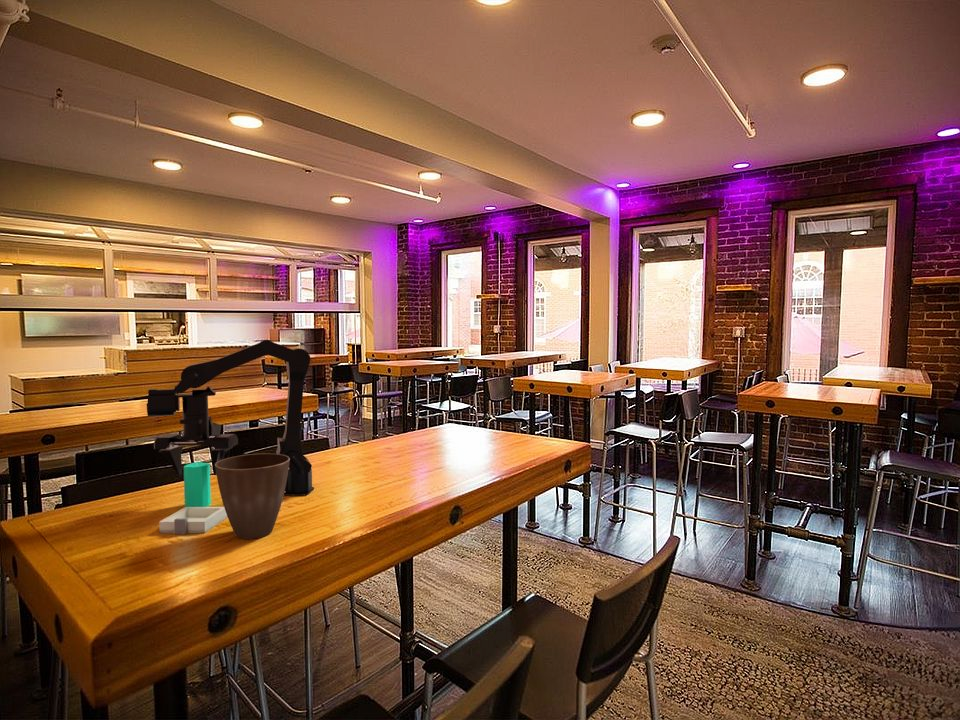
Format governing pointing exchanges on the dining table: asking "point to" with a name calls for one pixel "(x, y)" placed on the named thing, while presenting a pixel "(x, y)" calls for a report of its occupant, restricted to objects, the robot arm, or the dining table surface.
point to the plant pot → (252, 491)
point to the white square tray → (193, 520)
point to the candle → (197, 484)
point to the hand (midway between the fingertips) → (197, 475)
